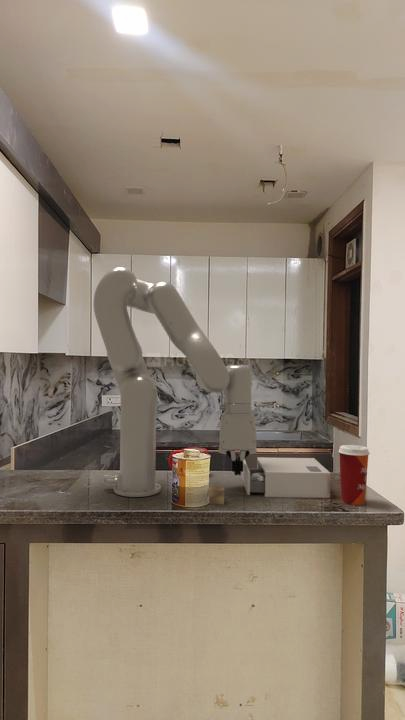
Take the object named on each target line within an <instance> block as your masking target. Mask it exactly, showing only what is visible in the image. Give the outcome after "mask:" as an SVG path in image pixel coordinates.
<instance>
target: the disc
mask: <svg viewBox="0 0 405 720" xmlns="http://www.w3.org/2000/svg"><path fill="white" fill-rule="evenodd" d="M252 482H265V473H254V474H252Z"/></svg>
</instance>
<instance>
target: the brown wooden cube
mask: <svg viewBox="0 0 405 720" xmlns="http://www.w3.org/2000/svg"><path fill="white" fill-rule="evenodd" d="M208 487H209V488H208V492H209V493H208V504H209V505H212V506H213V505H217V506H218V505H219V506H221V505H222V506H224V505H225V488H224V486H219V485H218V486H208Z"/></svg>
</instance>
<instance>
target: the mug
mask: <svg viewBox="0 0 405 720" xmlns="http://www.w3.org/2000/svg"><path fill="white" fill-rule="evenodd" d="M184 449H196V450H199V451H201V452H202V453H205V454H207V455H208V449H207V448H204V447H196V446H191V447H184V448H182V449H176V450H174V451H173V452H172V453H170V455H169V457H168V465H169V467H170V469H171V470H172V455H173V454H176V453H180V452H183V451H184Z"/></svg>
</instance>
